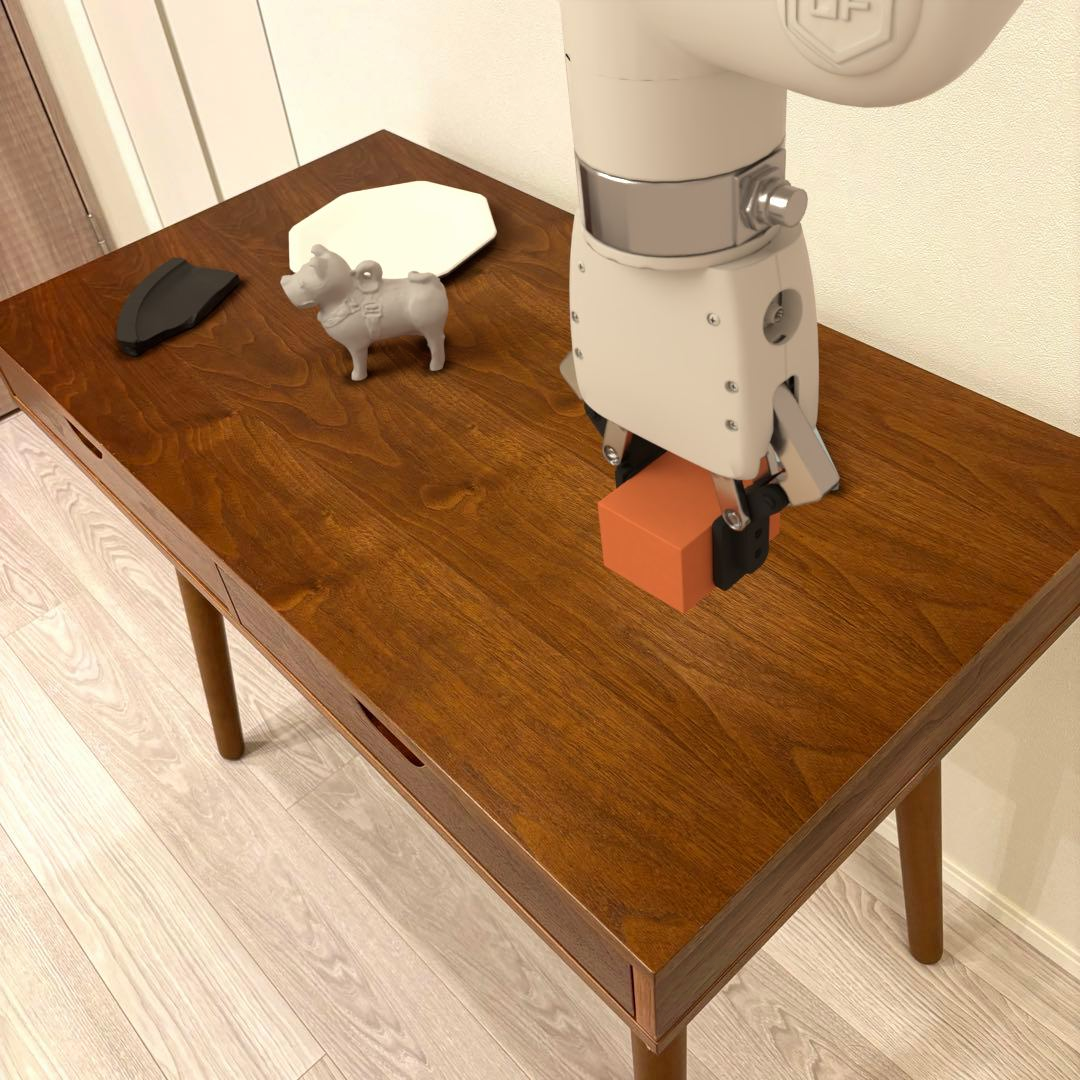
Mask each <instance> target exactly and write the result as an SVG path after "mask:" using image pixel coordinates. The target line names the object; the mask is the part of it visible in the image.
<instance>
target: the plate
mask: <svg viewBox="0 0 1080 1080" xmlns="http://www.w3.org/2000/svg"><path fill="white" fill-rule="evenodd" d="M497 235H498V232H497V228H496V225H495V222H494V219H493V215H492V211H491V209H490V206H489V202H488V199H487V197H485V196H484V195H482V194H481V193H476V192H472V191H468V190H465V189H459V188H455V187H452V186H448V185H444V184H439V183H435V182H431V181H427V180H416V181H415V180H414V181H409V182H403V183H398V184H392V185H386V186H381V187H374V188H369V189H362V190H357V191H351V192H347V193H344V194H341V195H340V196H338V197H336V198H334V200H332V201H331V202H330V201H329V203H327V204H325V205H324V206H322V207H321V208H320V209H318V210H316V211H315V212H313V213H311V214H310V215H309V216H308V217H305V218H304V219H302V220H301V221H300V222H297V223H296V224H295V225H293V226H292V227H291V229H290V230H289V231H288V253H289V254H288V255H289V258H288V259H289V270H290V271H291V272H292V273H293V274H295V273H297V272H298V271H299V270H300V268H301V267H302V265H304V264H306V263H308V262H309V261H310V258H312V257H315V256H314V254H313V253H311V249H312V246H314V245H316V244H321V245H322V246H324V247H325V248H326V249H328V250H329V251H332V252H334V253H336V254H338V255H339V256H341V257H342V258H343V259H344V260H345V261H346V262H347V263H348V265H349V266H350V268H351V270H354V269H356V266H357V265H358V264H359V263H360V262H362V261H364V260H373V261H375V262H377V263H379V264H380V266H381V267H382V271H383V275H382V278H387V279H399V278H407V277H408V273H409V272H410V271H418V272H419V273H427V272H430V273H433V274H434V275H436V276H437V277H438V278H439V279H440V280H441V279H443V278H444V277H445V278H446V277H447V276H449V275H450V274H452V273H453V272H454V271H455V270H457V269H458V268H460V267H461V266H462V265H463V264H465V263H466V262H467V261H468V260H470V259H471V258H473V257H474V256H475V255H477V254H478V253H479V252H480V251H481V250H483V249H484V248H485V247H487V246H489V244H491V243H492V242H493V241H494V240H495V239H496V237H497ZM364 274H365V275H368V274H369V275H371V274H370V273H368V272H366V273H364Z"/></svg>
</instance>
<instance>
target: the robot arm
mask: <svg viewBox="0 0 1080 1080" xmlns="http://www.w3.org/2000/svg"><path fill="white" fill-rule="evenodd" d="M558 1H559V11H560V19H561V30H562V31H561V33H562V40H563V52H564V62H565V72H566V81H567V91H568V101H569V114H570V120H571V131H572V132H571V133H572V143H573V154H574V165H575V176H576V185H577V193H578V194H577V195H578V206H577V207H576V209H575V211H574V216H573V218H574V219H573V225H572V232H571V245H570V256H569V257H570V258H569V285H568V286H569V321H570V334H571V335H570V337H571V347H572V348H571V349H570V351H569V352H568V353H567V354H566V356H565V357H564V358H563V359H562V361H561V362H560V363H559V365H558V372H559V374H560V375H561V377H562V378H563V380H564V381H565V383H567V385H568V386H569V387H570V388H571V390H572V391H573V393H574V394H575V395H576V396H577V398H578V399H579V401H581V402H583V401H584V402H583V409H584V412H585V414H586V416H587V417H588V418H589V420H590V422H591V423H592V425H594V427H595V428H596V430H597V432H598V433H599V434H600V436H601V437H602V444H601V453H602V454H601V455H602V456H603V458H604V459H605V460H606V462H607V463H609V464H610V465H611V466H613V467H615V470H614V479H615V489H617V488H618V487H619V486H621V485H622V484H623V483H625V482H626V481H627V480H629V479H631V478H632V477H633V476H635V475H636V474H637V473H639V472H640V471H641V470H643V469H644V468H645V467H647V466H648V465H649V464H651V463H652V462H653V461H655V460H656V459H657V458H659V457H660V456H661V455H663V454H664V453H665V452H667V451H670V452H672V453H674V454H676V455H678V456H680V457H682V458H684V459H686V460H688V461H690V462H692V463H694V464H696V465H698V466H701V467H703V468H705V469H707V470H709V471H710V473H711V477H712V480H713V484H714V488H715V491H716V495H717V499H718V502H719V506H720V510H721V513H722V514H721V515H720V516H719V517H718V518H717V519H715V520H714V522H713V523H712V548H713V581H714V585H715V586H716V587H715V588H718V589H719V590H721V591H723V592H727V591H728V590H730V589H731V588H732V587H733V586H734V585H735V584H736V583H738V582H739V581H741V579H743V578H744V577H745V576H746V575H747V574H748V575H752V574H753V573H755V572H756V571H757V570H759V569H760V568H761V567H762V566H763V565H764V563H765V562H766V561H767V559H768V556H769V553H770V552H769V551H770V541H769V527H770V516H771V515H774V514H776V513H779V512H780V513H781V511H783V510H784V509H786V508H790V507H792V508H796V507H801V506H804V505H810V504H814V503H817V502H820V501H821V500H823V499H824V498H825V497H826V496H827V495H828V494H829V493H831V492H832V491H831V490H833V489H834V488H835V487H836V486H837V485H838V484H839V485H840V482H841V481H840V480H841V479H839V477H840V474H839V473H837V472H838V470H837V469H836V470H837V471H836V470H835V468H836V467H835V468H834V466H835V465H834V466H833V464H834V463H833V464H832V463H831V461H830V459H829V457H828V456H827V454H826V452H825V450H824V448H823V447H822V445H821V443H820V441H819V440H818V438H817V436H816V434H815V433H814V431H813V430H814V429H815V426H816V425H817V421H818V414H819V413H818V412H819V390H820V388H819V386H820V362H819V360H820V359H819V354H820V353H819V330H818V329H819V328H818V317H817V316H818V315H817V303H816V293H815V287H814V278H813V273H812V266H811V261H810V255H809V250H808V246H807V242H806V238H805V234H804V229H803V226H802V223H801V221H802V220H803V218H804V216H805V214H806V211H807V208H808V202H809V201H808V200H809V197H808V193H807V191H806V190H805V189H803V188H800V187H797V186H794V185H792V183H791V182H790V180H788V179H786V163H787V149H786V146H787V145H786V144H787V143H786V142H787V141H786V140H787V139H786V138H787V131H786V130H787V103H788V102H787V101H788V91H790V92H793V93H796V94H799V95H803V96H806V97H809V98H812V99H815V100H818V101H819V100H820V101H823V102H827V103H831V104H835V105H839V106H845V107H846V106H847V107H853V108H862V109H863V108H864V109H873V108H874V109H875V108H877V109H878V108H892V107H897V106H901V105H905V104H909V103H913V102H916V101H920V100H923V99H925V98H927V97H929V96H931V95H933V94H935V93H937V92H939V91H940V90H942V89H944V88H946V87H947V86H949V85H950V84H952V83H953V82H954V81H956V80H957V79H958V78H960V77H962V75H963V74H965V73H966V72H967V71H968V70H969V69H970V68H971V67H972V66H974V64H975V63H976V62H977V61H978V60H979V59H980V58H981V57H982V56H983V55H984V53H986V51H987V50H988V49H989V48H990V46H991V45H992V43H993V42H994V41H995V39H996V38H997V37H998V35H999V34H1000V33H1001V31H1002V30H1003V29H1004V28H1005V26H1006V25H1007V24H1008V22H1009V21H1010V20H1011V19H1012V17H1014V15H1015V13H1016V12H1017V11H1018V9H1019V8H1020V7H1021V6H1022V4H1023V3H1024V1H1025V0H558ZM816 427H817V426H816ZM774 451H775V452H774ZM775 453H776V454H777V456H778V458H779V460H780V461H781V463H782V465H783V466H784V468H785V470H782V471H780V472H779V468H778V464H777V460H776V456H775ZM838 474H839V475H838ZM742 480H752V482H753V484H752V485H749V486H748V487H746V488H745V489H744V486H743V482H742ZM833 491H834V490H833Z"/></svg>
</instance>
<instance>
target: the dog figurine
mask: <svg viewBox="0 0 1080 1080" xmlns="http://www.w3.org/2000/svg"><path fill="white" fill-rule="evenodd" d="M311 253H313V254H314V256H315V257H312V258H310V261H309V262H308V263H306V264H304V265H302V267H301V268H300V270H299V271H298V272H297V273H295V274H294V273H293V274H288V275H287V274H286V275H282V276H281V279H280V285H281V288H282V289H283V292H284V294H285V295H286V297H287V298H288V299H289V300H290V302H291V303H292V304H293V305H294V306H295V307H296V308H298V309H300V310H307V309H310V308H313V307H316V306H318V307H319V311H318V312H317V315H316V316H317V317H316V318H317V322H319V323H320V324H321V326H322V327H323V329H324V330H325V332H326V333H327V335H329V337H331V338H332V339H333V340H335V341H336V342H338V343H340V344H341V345H342V346H344V347H345V348H346V349H347V350H348V352H349V353H350V356H351V358H352V362H353V363H352V364H353V369H352V372H351V380H352V381H362V380H365V379H366V378H367V377H368V372H367V371H368V370H367V368H368V365H367V364H368V355H369V354H368V349H369V347H370V346H371V345H372V344H373V343H376V342H379V341H384V340H389V339H394V338H400V337H405V336H421V337H424V338H425V340H426V342H427V343H426V345H427V347H428V348H429V351H430V355H431V360H430V362H429V370H430V371H432V372H436V371H440V370H442V369H443V368H444V365H445V361H446V354H445V338H446V335H445V331H444V328H445V325H446V322H447V320H448V319H447V318H448V314H449V300H448V297H447V296H448V295H447V290H446V288H445V285H444V284H443V283H442V281H441V278H440V279H439V278H438V277H437V276H436V275H434V274H433V273H430V272H427V273H419V272H418V271H410V272H409V273H408V277H407V278H399V279H387V278H382V275H383V271H382V267H381V266H380V264H379V263H377V262H375V261H373V260H364V261H362V262H360V263H359V264H358V265H357V266H356V269H354V270H351V268H350V266H349V265H348V263H347V262H346V261H345V260H344V259H343V258H342V257H341V256H339V255H338V254H336V253H334V252H332V251H329V250H328V249H326V248H325V247H324V246H322V245H321V244H316V245H314V246H312V249H311ZM366 272H368V273H370V274H371V275H369V274H368V275H365V274H364V273H366Z"/></svg>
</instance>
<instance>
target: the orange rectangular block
mask: <svg viewBox="0 0 1080 1080" xmlns="http://www.w3.org/2000/svg"><path fill="white" fill-rule="evenodd" d="M778 468H779V472H780V471H782V469H781V468H780V467H778ZM742 482H743V486H744V489H745V488H746V487H748V486H749V485H752V484H753V482H752V480H742ZM597 510H598V519H599V520H598V521H599V530H600V540H601V549H602V557H603V566H604V567H606V568H607V569H609V570H611V571H612V572H614V573H615V574H617V575H618V576H620V577H622V578H624V579H625V580H626V581H628V582H629V583H632V584H634V585H635V586H637V587H638V588H640V589H641V590H643V591H645V592H647V593H648V594H650V595H651V596H653V597H655V598H657V599H658V600H660V601H661V602H663V603H664V604H666V605H668V606H670V607H671V608H672V609H674V610H676V611H678V612H679V613H680V614H683V615H685V614H686V613H687V612H688V611H690V610H692V608H693V607H694V606H695V605H697V604H698V603H699V602H700V601H701V600H703V599H704V598H705V597H706V596H708V594H710V593H711V592H712V591H713V590H714V589H715V588H717V587H716V586H715V585H714V581H713V548H712V523H713V522H714V520H715V519H717V518H718V517H719V516H720V515H721V514H722V513H721V510H720V506H719V502H718V499H717V495H716V491H715V488H714V484H713V480H712V477H711V473H710V471H709V470H707V469H705V468H703V467H701V466H698V465H696V464H694V463H692V462H690V461H688V460H686V459H684V458H682V457H680V456H678V455H676V454H674V453H672V452H670V451H667V452H665V453H664V454H663V455H661V456H660V457H659V458H657V459H656V460H655V461H653V462H652V463H651V464H649V465H648V466H647V467H645V468H644V469H643V470H641V471H640V472H639V473H637V474H636V475H635V476H633V477H632V478H631V479H629V480H627V481H626V482H625V483H623V484H622V485H621V486H619V487H618V488H617V489H616V488H615V489H614V490H613V491H611V492H610V493H609V494H607V495H606V496H604V497H603V498H602V499H601V500H599V501H598V502H597ZM780 532H781V511H780V512H779V513H776V514H774V515H771V516H770V527H769V542H770V541H772V540H773V539H774V538H775V537H776V536H777V535H779V534H780Z"/></svg>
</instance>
